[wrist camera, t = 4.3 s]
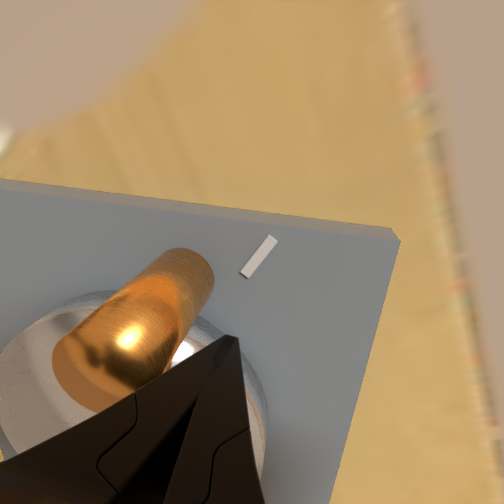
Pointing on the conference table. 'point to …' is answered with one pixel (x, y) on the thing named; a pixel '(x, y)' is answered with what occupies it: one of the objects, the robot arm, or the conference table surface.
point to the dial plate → (221, 301)
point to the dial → (113, 352)
